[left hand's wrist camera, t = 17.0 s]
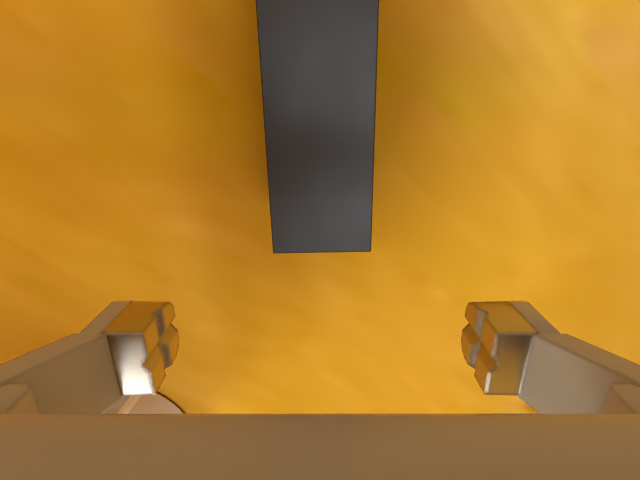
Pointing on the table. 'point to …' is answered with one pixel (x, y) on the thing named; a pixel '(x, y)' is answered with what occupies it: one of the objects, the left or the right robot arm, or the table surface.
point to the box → (319, 121)
